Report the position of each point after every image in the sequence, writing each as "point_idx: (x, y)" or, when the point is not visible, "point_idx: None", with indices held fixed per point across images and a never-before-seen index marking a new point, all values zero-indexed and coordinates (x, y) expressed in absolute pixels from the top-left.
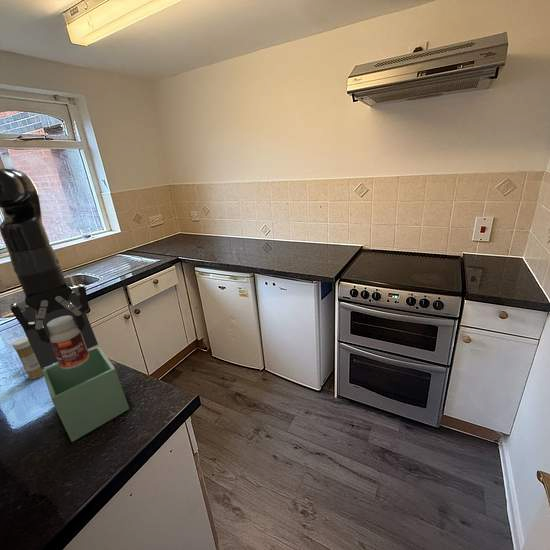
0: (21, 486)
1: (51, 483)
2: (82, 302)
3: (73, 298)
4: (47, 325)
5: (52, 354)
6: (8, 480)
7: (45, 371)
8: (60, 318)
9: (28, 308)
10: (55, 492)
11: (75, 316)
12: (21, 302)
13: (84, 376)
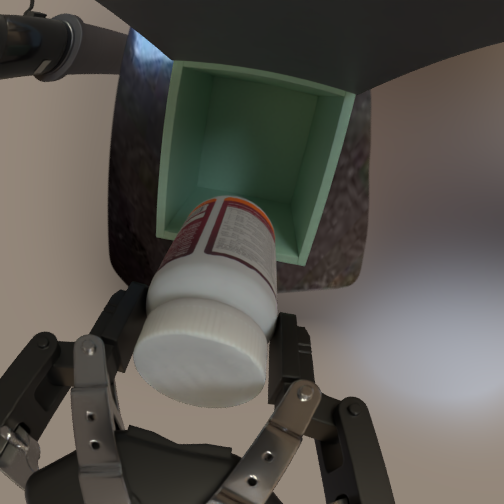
0: (123, 206)
1: (152, 237)
2: (322, 470)
3: (475, 13)
4: (137, 367)
5: (208, 54)
6: (112, 179)
7: (177, 77)
8: (209, 357)
9: None
10: (153, 254)
11: (273, 398)
12: (19, 485)
13: (275, 83)
